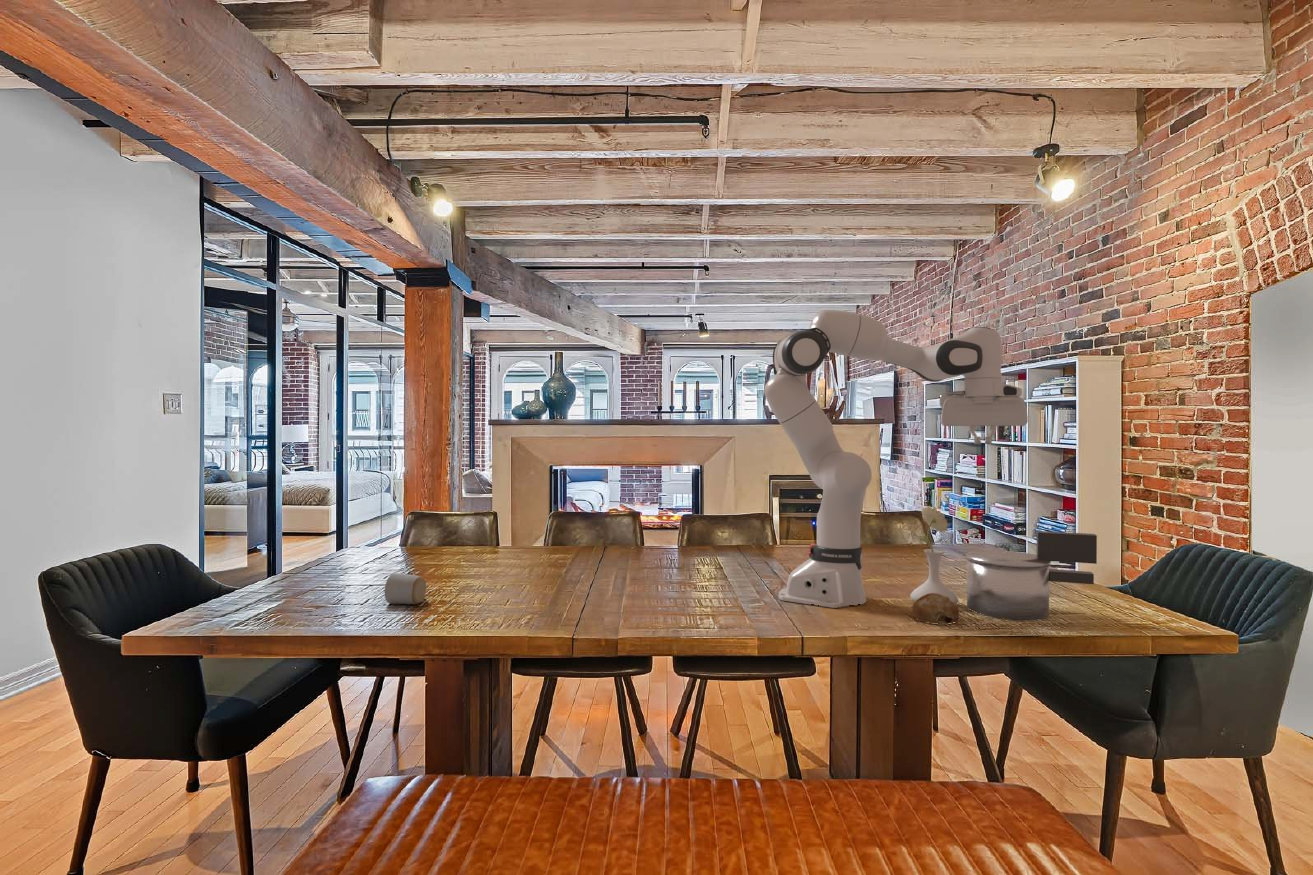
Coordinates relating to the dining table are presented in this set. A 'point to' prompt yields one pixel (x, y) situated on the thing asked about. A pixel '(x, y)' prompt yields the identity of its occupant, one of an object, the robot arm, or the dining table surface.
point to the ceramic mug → (404, 589)
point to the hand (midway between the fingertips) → (982, 443)
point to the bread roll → (935, 609)
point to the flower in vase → (933, 558)
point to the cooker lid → (1043, 551)
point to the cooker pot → (1015, 590)
